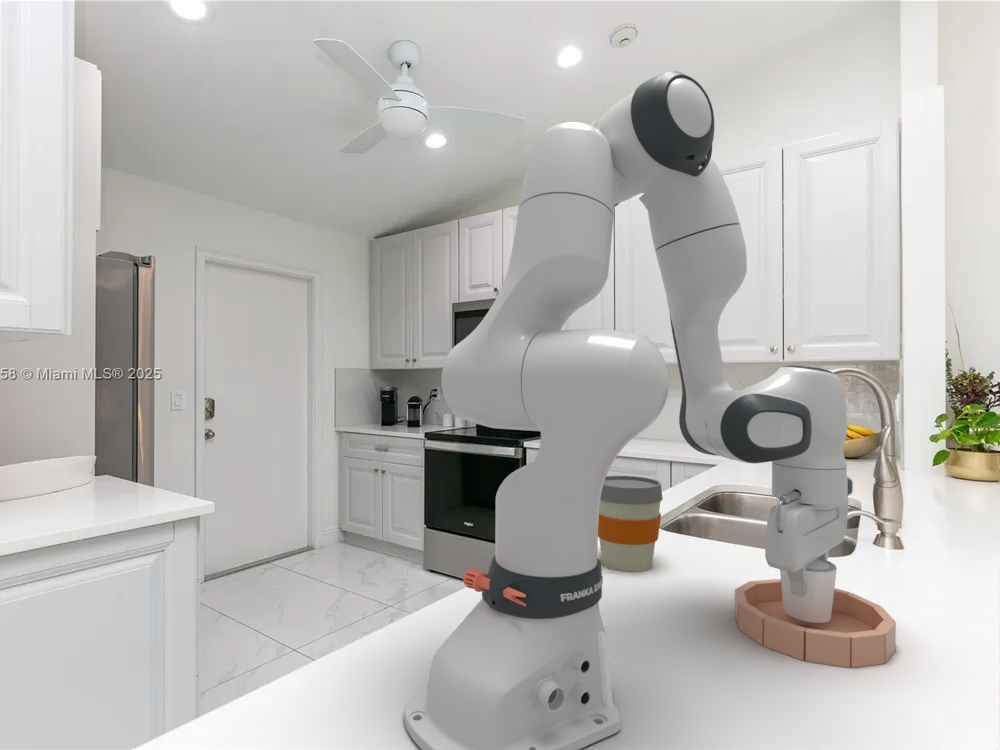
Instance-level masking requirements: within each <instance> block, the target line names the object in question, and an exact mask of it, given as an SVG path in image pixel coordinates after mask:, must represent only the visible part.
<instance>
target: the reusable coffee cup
mask: <svg viewBox="0 0 1000 750" xmlns="http://www.w3.org/2000/svg"><path fill="white" fill-rule="evenodd" d="M662 490H663V489H662V482H661V481H659V480H657V479H654V478H649V477H643V476H634V475H607V476H606V478H605V481H604V484H603V488H602V493H601V499H600V509H599V523H598V541H599V548H600V554H601V555H600V556H601V564H603V566H605V567H607V568H609V569H612V570H614V571H618V572H619V571H620V572H624V573H625V572H626V573H627V572H628V573H640V572H645V571H648V570H650V569H652V567H653V561H654V553H655V544H656V542H657V541H658V540H659V533H660V526H661V525H660V524H661V519H662V513H661V512H660V509H661V508H660V507H661V501H663V491H662Z"/></svg>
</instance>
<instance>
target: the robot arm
mask: <svg viewBox="0 0 1000 750" xmlns="http://www.w3.org/2000/svg"><path fill="white" fill-rule="evenodd" d="M714 115H715V114H714V109H713V105H712V102H711V100H710V98H709V95H708V94H707V92H706V89H704V88H703V86H702V85H701V84H700V83H699V82H698V81H697V80H696V79H694V78H693V77H691V76H689V75H687V74H685V73H683V72H680V71H677V70H670V71H665V72H663V73H660V74H657V75H655V76H654V77H651V78H649V79H647V80H645V81H644V82H642V83H641V84H640V85H639V86H637V88H636V89H635V91H633V92H631V93H630V94H628V95H627V96H625V97H624V98H622V99H620V100H618V102H616V103H615V104H614V105H611V107H610V108H608V109H607V110H605V111H604V112H602V113H601V114H600V115H599V116H598V117H596V118H595V119H594V120H593V121H592V122H591V123H590V124H587V123H585V122H579V121H565V122H559V123H558V124H555V125H553V126H551V127H549V128H547V129H546V130H545V131H544V132H543V133H541V135H540V136H539V137H538V139H537V141H536V143H535V144H534V147H533V149H532V152H531V155H530V157H529V161H528V163H527V167H526V171H525V175H524V178H523V181H522V182H523V183H522V186H521V191H520V196H519V203H518V209H517V215H516V222H515V223H516V224H515V231H514V237H513V242H512V243H513V244H512V248H511V254H510V259H509V264H508V269H507V272H506V275H505V278H504V281H503V283H502V286H501V288H500V290H499V292H498V294H497V296H496V297H495V300H494V301H493V304H492V305H491V307H490V308H489V310H488V311H487V313H486V314H485V316H484V317H483V319H482V320H481V321H480V323H478V325H477V326H476V327H475V329H474V330H472V331H471V333H470V334H468V335H467V336H466V337H465V338H464V339H462V340H461V341H460V342H459V343H457V344H456V345H454V346H453V348H451V350H450V351H449V354H448V355H447V357H446V359H445V361H444V364H443V367H442V373H441V389H442V394H443V397H444V400H445V402H446V404H447V406H448V408H449V410H450V411H451V412H452V413H453V414H454V415H455V416H456V417H457V418H460V419H462V420H465V421H467V422H471V423H474V424H476V425H481V426H484V427H486V428H492V429H498V430H499V429H501V430H515V431H516V430H517V431H532V432H540V442H539V447H538V451H537V453H536V455H535V458H534V460H533V461H532V462H530V463H527V464H526V465H524V466H523V465H522V466H521V467H519V468H517V469H516V470H514V471H513V472H511V473H510V474H508V475H507V476H506V478H504V479H503V481H502V483H501V484H500V485H499V487H498V489H497V491H496V495H495V527H494V528H495V538H494V539H495V541H494V542H495V544H494V545H495V548H494V549H495V551H494V552H495V555H494V556H493V557H492V559H491V561H490V564H489V568H488V571H487V573H486V572H485V571H480V570H479V569H477V568H474V567H471V568H468V569H467V570H466V571H465V574H464V575H463V585H465V587H466V588H468V589H471V590H472V589H473V590H474V591H475V592H478V593H481V599H480V600H479V601H478V603H476V605H475V606H474V607H473V608H472V610H470V612H469V613H468V614H467V615H466V617H465V618H463V620H462V621H461V622H460V624H459V625H458V626H457V627H456V628H455V629H454V631H452V633H451V634H450V635H449V636H448V637H447V639H445V641H444V642H443V643H442V644H441V645H440V646H439V647H438V648H437V650H436V651H435V653H434V656H433V658H432V662H431V664H430V670H429V676H428V682H427V683H428V686H427V688H426V689H425V690H423V691H421V692H420V693H418V694H417V695H415V696H414V697H412V698H411V699H410V700H408V701H407V702H406V703H405V705H404V712H403V713H404V714H403V721H404V724H405V725H404V727H405V728H406V730H407V732H408V735H409V736H410V738H411V739H412V740H413V742H414V743H415V744H416V745H417V746H418V747H419V748H420V750H581V749H583V748H586V747H587V746H589V745H591V744H594V743H597V742H599V741H600V740H603V739H606V738H608V737H610V736H611V735H612V736H613V735H614V734H616V733H618V732H619V731H620V730H621V716H620V713H619V712H618V709H617V707H616V706H615V704H614V692H613V689H612V677H611V668H610V656H609V650H608V649H609V648H608V640H607V634H606V631H605V628H604V625H603V620H602V616H601V612H600V606H599V602H600V600H601V599H602V596H603V587H602V586H603V582H604V578H603V573H602V572H603V571H602V561H600V559H599V557H598V546H599V545H598V543H599V542H598V541H599V537H598V523H599V509H600V499H601V493H602V488H603V484H604V481H605V478H606V476H608V473H609V470H610V469H611V467H612V465H613V463H614V461H615V460H616V458H617V457H618V455H619V454H620V452H621V451H622V450H623V449H624V447H625V446H627V445H628V443H629V442H630V441H632V440H633V439H634V438H635V437H637V436H638V435H639V434H641V433H643V432H644V431H645V430H647V428H649V427H650V426H651V425H652V424H653V423H654V422H655V421H656V420H657V419H658V417H659V415H660V414H662V413H661V412H662V411H663V409H664V406H665V405H666V402H667V399H668V394H669V388H670V378H669V370H668V369H669V368H668V367H667V366H668V365H667V362H666V360H665V358H664V356H663V354H662V352H661V351H660V349H659V348H658V346H657V345H656V344H655V342H653V341H652V340H651V338H649V337H648V336H647V335H644V334H640V333H635V332H628V331H624V330H623V331H622V330H617V329H610V328H609V329H608V328H600V327H596V328H581V329H580V328H577V329H562V328H563V326H564V324H565V323H566V322H567V320H568V319H569V318H570V317H571V316H572V315H573V314H574V313H575V312H576V311H577V310H578V309H580V308H582V307H583V306H585V305H587V304H588V303H589V302H591V301H592V300H594V299H595V298H597V296H598V295H599V294H600V293H601V292H602V290H603V288H604V287H605V284H606V283H607V280H608V277H609V273H610V272H609V270H610V269H609V268H610V259H611V249H612V248H611V247H612V239H613V227H614V219H615V218H614V215H615V207H617V206H618V205H619V204H620V203H622V202H625V201H627V200H630V199H633V198H635V197H636V196H638V195H640V194H642V195H641V196H640V197H638V199H639V201H640V202H641V203H642V205H643V206H644V207H645V209H646V210H647V214H648V220H649V228H650V234H651V239H652V242H653V247H654V251H655V255H656V260H657V264H658V267H659V271H660V275H661V278H662V282H663V287H664V291H665V294H666V302H667V306H668V313H669V320H670V326H671V332H672V338H673V344H674V349H675V355H676V360H677V366H678V371H679V376H680V381H681V390H682V391H681V394H682V395H681V403H680V407H679V408H680V409H679V417H678V420H679V421H678V422H679V428H680V431H681V435H682V436H683V438H684V440H685V441H686V443H687V444H688V446H690V447H691V448H693V450H696V451H697V452H699V453H701V454H705V455H711V456H716V457H717V456H718V457H722V458H726V459H729V460H731V461H737V462H741V463H745V464H752V465H753V464H754V465H755V464H762V463H770V462H771V495H772V496H773V497H774V498H776V499H778V500H779V501H778V504H774V505H773V506H772V507H771V508H770V510H769V512H768V516H767V523H766V533H765V535H766V536H765V547H764V549H765V551H764V553H765V555H764V556H765V560H766V563H767V566H769V567H771V568H774V569H777V570H780V569H781V570H785V571H787V574H788V577H789V580H790V592H791V593H792V594H794V595H798V596H801V597H802V596H804V595H806V594H807V582H806V574H805V571H806V570H807V564H809V563H811V562H812V561H814V560H815V559H817V558H821V559H824V560H827V561H828V560H829V551H831V550H832V549H833V548H835V547H836V546H838V545H840V544H841V543H843V542H844V539H845V536H846V533H847V527H848V517H849V514H848V513H849V496H851V495H852V494H853V492H854V483H853V479H852V478H851V477H849V476H848V475H847V472H848V471H847V469H848V468H847V460H846V458H845V453H844V444H845V442H846V441H845V440H846V438H847V434H848V433H847V432H848V419H847V418H848V417H847V416H848V414H847V401H846V394H845V393H846V392H845V389H844V385H843V383H842V381H841V378H840V377H839V376H838V375H837V374H836V373H834V372H832V371H831V370H828V369H825V368H820V367H814V366H805V365H804V366H802V365H790V364H789V365H784V366H780V367H779V368H778V369H777V371H776V372H774V373H773V374H772V375H770V376H769V377H767V378H766V379H763V380H761V381H760V382H757V383H754V384H752V385H749V386H747V387H744V388H743V389H736V390H734V389H733V388H732V387H731V386H730V385H729V383H728V380H727V378H726V375H725V367H724V363H723V357H722V356H723V355H722V351H721V346H720V345H721V344H720V340H719V339H720V338H719V322H720V319H721V315H722V314H723V311H724V309H725V308H726V306H727V304H728V303H729V302H730V301H731V299H732V298H733V296H735V294H736V293H737V292H738V291H739V289H740V287H741V286H742V284H743V283H744V281H745V277H746V275H747V269H748V266H747V260H748V259H747V258H748V257H747V247H746V242H745V238H744V235H743V230H742V227H741V223H740V220H739V215H738V211H737V210H736V209H737V208H736V205H735V203H734V201H733V198H732V195H731V193H730V190H729V188H728V185H727V184H726V181H725V179H724V177H723V175H722V172H721V171H720V169H719V167H718V165H717V163H716V162H715V161H714V159H712V153H713V142H714V137H715V116H714Z"/></svg>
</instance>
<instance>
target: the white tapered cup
mask: <svg viewBox="0 0 1000 750" xmlns="http://www.w3.org/2000/svg"><path fill="white" fill-rule="evenodd" d="M837 569H838V568H837V566H836V564H834V563H832V562H831V561H829V560H828V559H827V560H824V559H821V558H817V559H815V560H814V561H812V562H811V563H809V564H807V570H806V571H805V574H806V582H807V594H806V595H804V596H802V597H801V596H798V595H794V594H792V593H791V592H790V580H789V577H788V574H787V571H785V570H781V569H779V572H780V574H779V575H780V579H781V586H782V597H783V608H784V612H786V613H787V614H788V615H790V616H792V617H794V618H796V619H799V620H802V621H807V622H813V623H823V622H828V621H829V620H830V619H831V613H832V605H833V596H834V588H836V587H835V585H836V578H837Z"/></svg>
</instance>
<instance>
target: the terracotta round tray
mask: <svg viewBox="0 0 1000 750" xmlns="http://www.w3.org/2000/svg"><path fill="white" fill-rule="evenodd" d="M734 617H735V621H736V625H737V629H738V630H739V631H740V632H742V633H743V634H744V635H747V636H748V637H749V638H751V639H752V640H753V641H755V642H756V643H757V644H759V645H761V646H763V647H764V648H768V649H770V650H772V651H775V652H778V653H780V654H784V655H786V656H789V657H792V658H794V659H798V660H800V661H804V660H805V662H806V663H807V662H808V663H815V664H821V665H828V666H829V665H830V666H836V667H842V668H849V669H850V668H863V667H869V666H879V665H884V664H887V662H889V660H890V659H891V657H892V656H893V654H894V653H895V652H896V649H897V648H896V643H897V641H896V640H897V639H896V637H897V634H896V633H897V631H896V628H897V627H896V626H897V625H896V623H897V622H896V621H895V619H894V618H893V617H892V616H891V615H890V614H889V613H888V612H887V611H886V610H885V608H884V607H883V606H881V605H879V604H877V603H875V602H872V601H870V600H868V599H866V598H864V597H862V596H859V595H858V594H855V593H853V592H850V591H846V590H843V589H839V588H836V587H835V588H834V596H833V605H832V613H831V619H830V620H829V621H828V622H823V623H813V622H807V621H802V620H799V619H796V618H794V617H792V616H790V615H788V614H787V613H786V612H784V608H783V597H782V586H781V578H779V579H777V578H771V579H762V580H761V579H760V580H750V581H747V582H745V583H744V584H742V585H740V586H738V587H736V588H735V589H734Z"/></svg>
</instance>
